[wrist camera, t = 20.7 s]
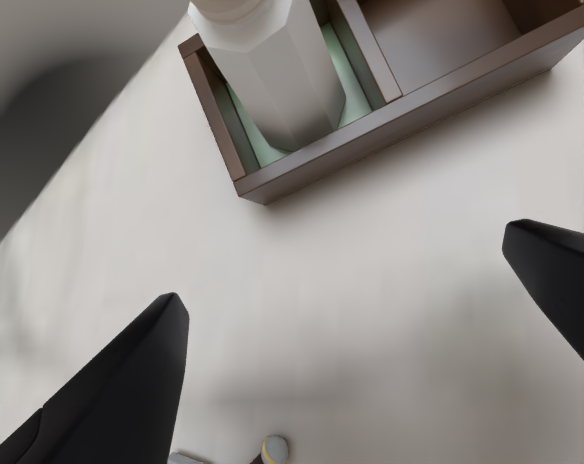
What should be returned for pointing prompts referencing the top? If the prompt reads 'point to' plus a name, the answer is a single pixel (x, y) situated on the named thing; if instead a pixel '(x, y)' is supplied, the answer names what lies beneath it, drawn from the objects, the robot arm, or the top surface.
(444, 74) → the divided wooden tray
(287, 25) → the pepper shaker
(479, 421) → the top surface
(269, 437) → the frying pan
